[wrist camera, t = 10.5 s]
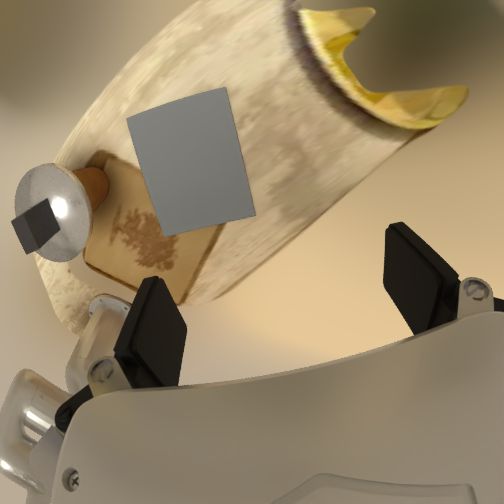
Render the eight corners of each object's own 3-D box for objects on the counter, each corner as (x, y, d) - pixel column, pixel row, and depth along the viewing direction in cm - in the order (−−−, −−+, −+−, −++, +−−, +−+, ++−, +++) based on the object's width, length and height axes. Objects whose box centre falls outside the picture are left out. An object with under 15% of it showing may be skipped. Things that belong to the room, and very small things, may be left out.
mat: (255, 214, 42) (255, 215, 41) (165, 235, 43) (164, 237, 42) (225, 87, 32) (225, 86, 32) (127, 118, 33) (126, 118, 33)
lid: (108, 244, 30) (86, 273, 24) (45, 264, 31) (22, 290, 25) (71, 146, 24) (37, 158, 18) (10, 185, 24) (-20, 202, 19)
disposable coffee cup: (63, 191, 37) (22, 218, 27) (86, 145, 34) (42, 162, 24) (101, 222, 41) (68, 257, 30) (128, 178, 38) (92, 205, 27)
